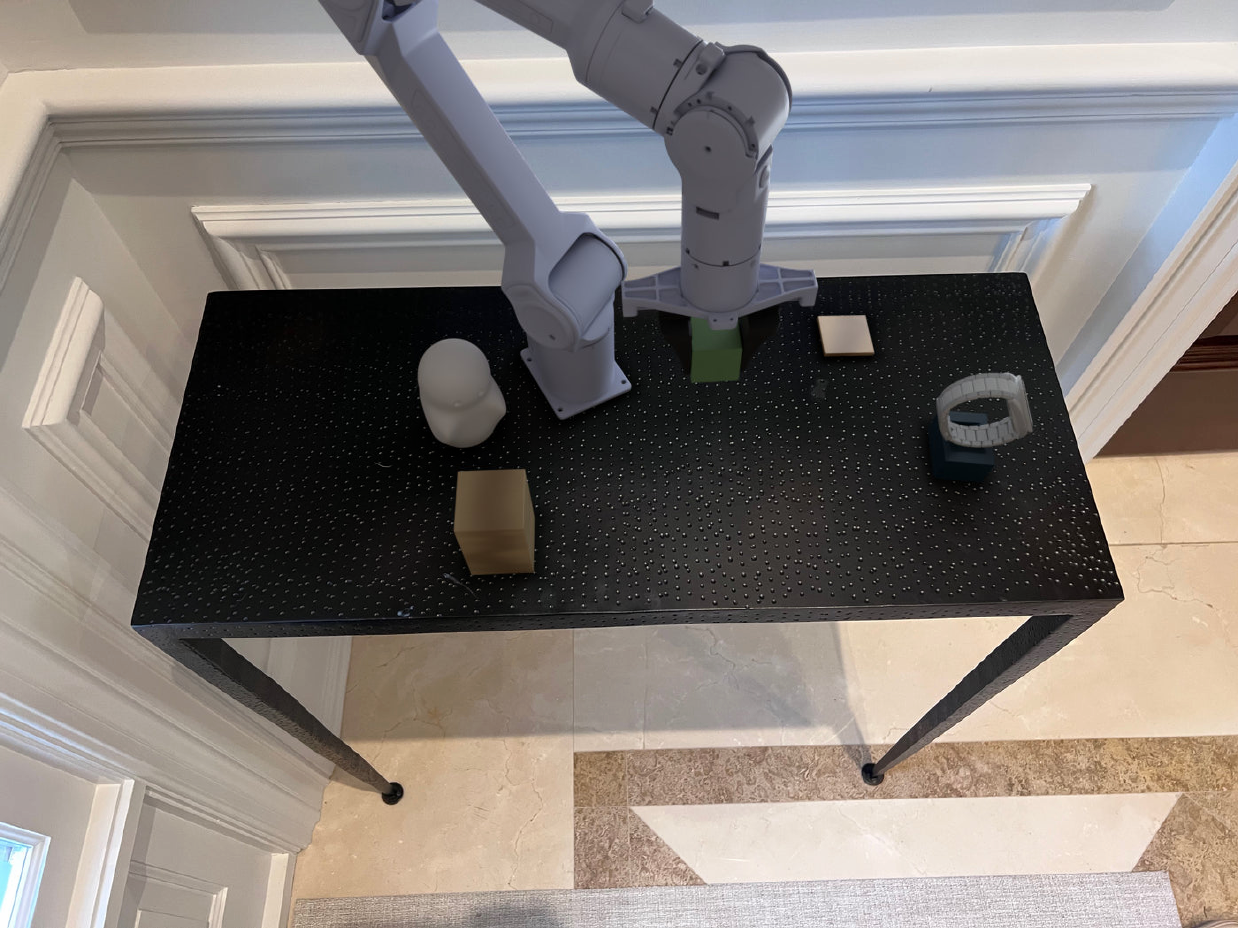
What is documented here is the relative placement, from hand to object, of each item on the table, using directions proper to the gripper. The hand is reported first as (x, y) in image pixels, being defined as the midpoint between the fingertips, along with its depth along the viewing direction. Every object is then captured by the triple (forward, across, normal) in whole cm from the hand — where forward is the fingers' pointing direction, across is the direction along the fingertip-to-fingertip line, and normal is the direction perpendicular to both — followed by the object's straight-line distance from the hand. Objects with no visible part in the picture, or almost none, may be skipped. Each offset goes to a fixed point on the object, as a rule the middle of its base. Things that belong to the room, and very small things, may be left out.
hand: (713, 364), depth 67 cm
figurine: (+9, -23, +2) cm, 25 cm away
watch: (+12, +23, -3) cm, 26 cm away
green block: (0, 0, 0) cm, 1 cm away
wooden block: (+10, -19, -11) cm, 24 cm away
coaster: (+11, +15, +12) cm, 22 cm away
